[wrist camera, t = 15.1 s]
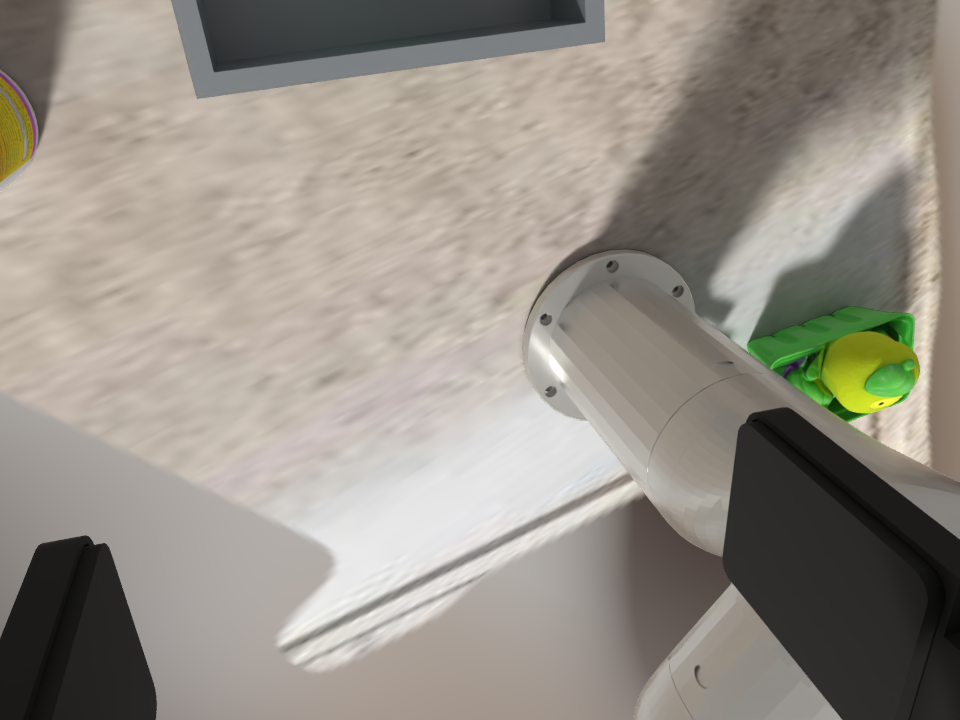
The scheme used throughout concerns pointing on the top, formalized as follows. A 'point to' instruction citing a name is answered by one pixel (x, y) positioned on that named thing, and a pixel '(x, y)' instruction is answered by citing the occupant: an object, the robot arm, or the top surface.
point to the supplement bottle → (15, 131)
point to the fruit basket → (846, 359)
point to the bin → (365, 36)
